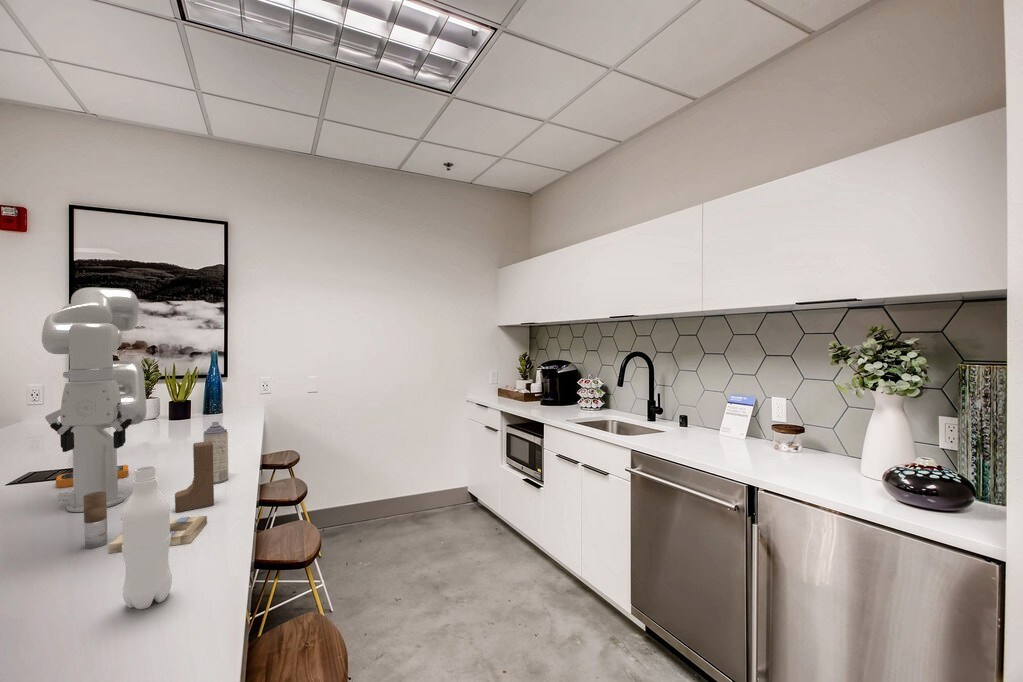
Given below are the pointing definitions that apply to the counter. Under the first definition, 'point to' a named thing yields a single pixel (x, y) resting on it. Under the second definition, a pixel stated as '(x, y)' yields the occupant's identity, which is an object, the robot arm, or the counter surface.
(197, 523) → the board
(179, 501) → the wooden block
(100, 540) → the two-tone cylinder
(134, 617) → the counter surface
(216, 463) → the aerosol can
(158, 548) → the water bottle
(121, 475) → the multimeter
